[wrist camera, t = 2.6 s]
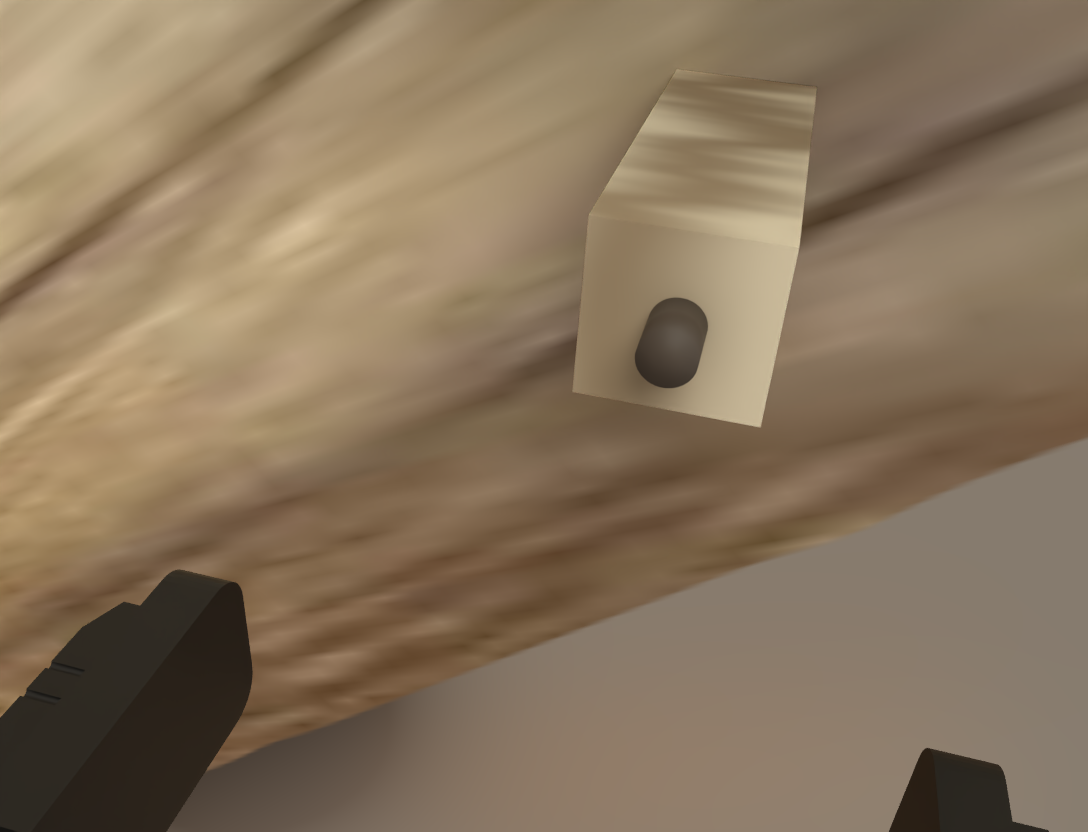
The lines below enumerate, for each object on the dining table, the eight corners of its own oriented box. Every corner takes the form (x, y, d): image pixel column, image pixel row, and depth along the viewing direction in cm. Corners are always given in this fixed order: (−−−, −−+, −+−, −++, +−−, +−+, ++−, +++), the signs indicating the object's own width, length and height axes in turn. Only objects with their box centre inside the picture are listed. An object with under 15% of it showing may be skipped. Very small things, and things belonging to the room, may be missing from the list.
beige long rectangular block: (817, 86, 29) (795, 280, 17) (789, 220, 31) (754, 467, 20) (677, 69, 29) (571, 244, 18) (659, 200, 31) (555, 428, 20)
